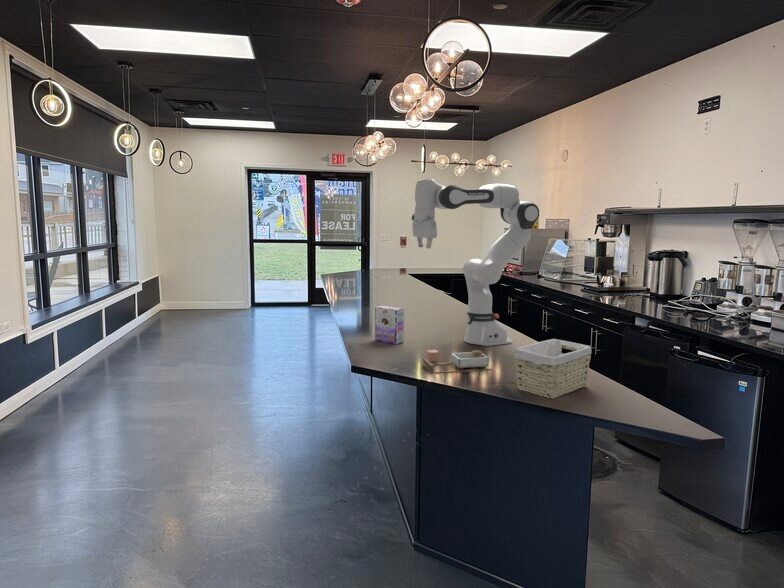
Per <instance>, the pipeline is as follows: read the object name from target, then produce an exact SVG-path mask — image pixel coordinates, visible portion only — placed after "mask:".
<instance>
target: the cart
mask: <svg viewBox="0 0 784 588" xmlns="http://www.w3.org/2000/svg"><path fill="white" fill-rule="evenodd" d="M450 363H453V364H452V365H454V366H455V367H456V368H458V369H460V370H465V369H467V368H480V369H486V367H489V366H490V357H489V356H487V355H486V354H484V353H483V352H482V357H480V358H472V351H469V352H468V351H467V352H466V351H465V352H451V353H450ZM464 368H465V369H464Z"/></svg>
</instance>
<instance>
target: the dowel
mask: <svg viewBox="0 0 784 588" xmlns="http://www.w3.org/2000/svg"><path fill="white" fill-rule="evenodd" d="M471 352H472V358H480V357H482V353H483V351H482V350H477V349H476V350H474V349H473V350H472V351H471Z"/></svg>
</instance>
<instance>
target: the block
mask: <svg viewBox="0 0 784 588" xmlns="http://www.w3.org/2000/svg"><path fill="white" fill-rule="evenodd" d="M425 359H427V360H428V361H429V362H430V363H432V362H433V363H434V362H435V363H436V362H440V360H439V359H440V352H439V351H438V350H437V349H427V350H426V358H425Z"/></svg>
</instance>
